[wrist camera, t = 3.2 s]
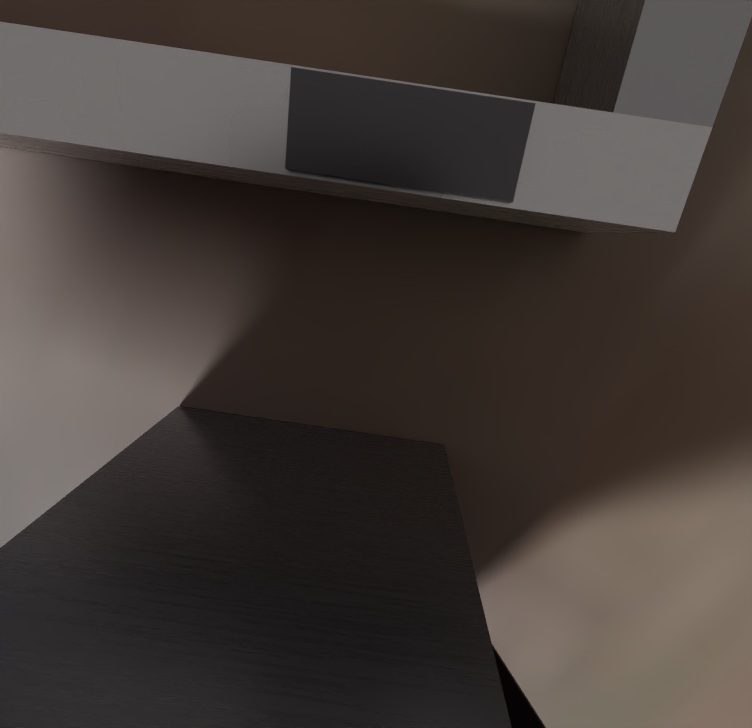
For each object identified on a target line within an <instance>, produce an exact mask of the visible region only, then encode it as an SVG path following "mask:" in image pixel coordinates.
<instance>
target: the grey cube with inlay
mask: <svg viewBox="0 0 752 728" xmlns="http://www.w3.org/2000/svg"><path fill="white" fill-rule="evenodd" d="M0 728H512V727H511V723H510V719H509V714H508V710H507V706H506V702H505V698H504V694H503V689H502V685H501V681H500V677H499V673H498V669H497V664H496V660H495V656H494V652H493V648H492V644H491V639H490V635H489V631H488V627H487V623H486V619H485V614H484V610H483V606H482V602H481V598H480V594H479V589H478V585H477V581H476V577H475V573H474V569H473V564H472V560H471V556H470V552H469V548H468V544H467V539H466V535H465V531H464V527H463V523H462V519H461V515H460V510H459V506H458V502H457V498H456V494H455V490H454V485H453V481H452V477H451V473H450V469H449V465H448V460H447V456H446V452H445V448H444V445H442V444H435V443H428V442H421V441H414V440H407V439H400V438H393V437H386V436H379V435H372V434H365V433H359V432H352V431H345V430H338V429H331V428H324V427H317V426H310V425H303V424H296V423H289V422H282V421H275V420H269V419H262V418H255V417H248V416H241V415H234V414H227V413H220V412H213V411H206V410H199V409H192V408H185V407H179V406H178V407H177V408H176V409H174V410H173V411H172V412H171V413H169V414H168V415H167V416H166V417H164V418H163V419H162V420H161V421H159V422H158V423H157V424H155V425H154V426H153V427H152V428H150V429H149V430H148V431H147V432H145V433H144V434H143V435H142V436H140V437H139V438H138V439H137V440H135V441H134V442H133V443H132V444H130V445H129V446H128V447H127V448H125V449H124V450H123V451H122V452H120V453H119V454H118V455H117V456H115V457H114V458H113V459H112V460H110V461H109V462H108V463H107V464H105V465H104V466H103V467H102V468H100V469H99V470H98V471H97V472H95V473H94V474H93V475H91V476H90V477H89V478H88V479H86V480H85V481H84V482H83V483H81V484H80V485H79V486H78V487H76V488H75V489H74V490H73V491H71V492H70V493H69V494H68V495H66V496H65V497H64V498H63V499H61V500H60V501H59V502H58V503H56V504H55V505H54V506H53V507H51V508H50V509H49V510H48V511H46V512H45V513H44V514H43V515H41V516H40V517H39V518H38V519H36V520H35V521H34V522H33V523H31V524H30V525H29V526H27V527H26V528H25V529H24V530H22V531H21V532H20V533H19V534H17V535H16V536H15V537H14V538H12V539H11V540H10V541H9V542H7V543H6V544H5V545H4V546H2V547H1V548H0Z"/></svg>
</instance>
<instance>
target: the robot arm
mask: <svg viewBox="0 0 752 728" xmlns="http://www.w3.org/2000/svg"><path fill="white" fill-rule="evenodd" d="M491 644H492V643H491ZM492 648H493V652H494V656H495V660H496V664H497V669H498V673H499V677H500V681H501V685H502V689H503V694H504V698H505V702H506V706H507V710H508V714H509V719H510V723H511V727H512V728H546V727H545V726H544V724H543V722H542V721H541V719H540V718H539V716H538V715H537V713H536V712H535V710H534V708H533V707H532V705H531V704H530V702H529V701H528V699H527V698H526V696H525V695H524V693H523V691H522V690H521V688H520V687H519V685H518V684H517V682H516V681H515V679H514V677H513V676H512V674H511V673H510V671H509V670H508V668H507V667H506V665H505V663H504V662H503V660H502V659H501V657H500V656H499V654H498V653H497V651H496V650H495V648H494V646H493V645H492Z"/></svg>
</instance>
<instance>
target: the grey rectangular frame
mask: <svg viewBox="0 0 752 728" xmlns="http://www.w3.org/2000/svg"><path fill="white" fill-rule="evenodd" d="M751 18H752V0H579V1H578V5H577V9H576V13H575V17H574V21H573V25H572V30H571V34H570V38H569V42H568V46H567V50H566V54H565V58H564V63H563V67H562V71H561V75H560V79H559V83H558V87H557V91H556V96H555V100H554V104H552V103H545V102H539V101H532V100H525V99H518V98H512V97H505V96H498V95H491V94H485V93H478V92H471V91H465V90H458V89H451V88H444V87H438V86H431V85H424V84H417V83H411V82H404V81H397V80H390V79H384V78H377V77H370V76H364V75H357V74H350V73H343V72H337V71H330V70H323V69H316V68H310V67H303V66H296V65H289V64H283V63H276V62H269V61H263V60H256V59H249V58H242V57H236V56H229V55H222V54H215V53H209V52H202V51H195V50H189V49H182V48H175V47H168V46H162V45H155V44H148V43H141V42H135V41H128V40H121V39H114V38H108V37H101V36H94V35H88V34H81V33H74V32H67V31H61V30H54V29H47V28H40V27H34V26H27V25H20V24H13V23H7V22H0V147H7V148H14V149H21V150H27V151H34V152H41V153H48V154H55V155H61V156H68V157H75V158H82V159H89V160H95V161H102V162H109V163H116V164H122V165H129V166H136V167H143V168H150V169H156V170H163V171H170V172H177V173H184V174H190V175H197V176H204V177H211V178H217V179H224V180H231V181H238V182H245V183H251V184H258V185H265V186H272V187H279V188H285V189H292V190H299V191H306V192H312V193H319V194H326V195H333V196H340V197H346V198H353V199H360V200H367V201H374V202H380V203H387V204H394V205H401V206H407V207H414V208H421V209H428V210H435V211H441V212H448V213H455V214H462V215H469V216H475V217H482V218H489V219H496V220H502V221H509V222H516V223H523V224H530V225H536V226H543V227H550V228H557V229H564V230H570V231H577V232H584V233H657V232H675V231H676V228H677V226H678V223H679V220H680V217H681V214H682V212H683V209H684V206H685V203H686V200H687V198H688V195H689V192H690V189H691V186H692V184H693V181H694V178H695V175H696V172H697V170H698V167H699V164H700V161H701V158H702V156H703V153H704V150H705V147H706V144H707V142H708V139H709V136H710V133H711V130H712V128H713V125H714V122H715V119H716V116H717V113H718V111H719V108H720V105H721V102H722V99H723V97H724V94H725V91H726V88H727V85H728V83H729V80H730V77H731V74H732V71H733V69H734V66H735V63H736V60H737V57H738V55H739V52H740V49H741V46H742V43H743V41H744V38H745V35H746V32H747V29H748V27H749V24H750V21H751Z"/></svg>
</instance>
